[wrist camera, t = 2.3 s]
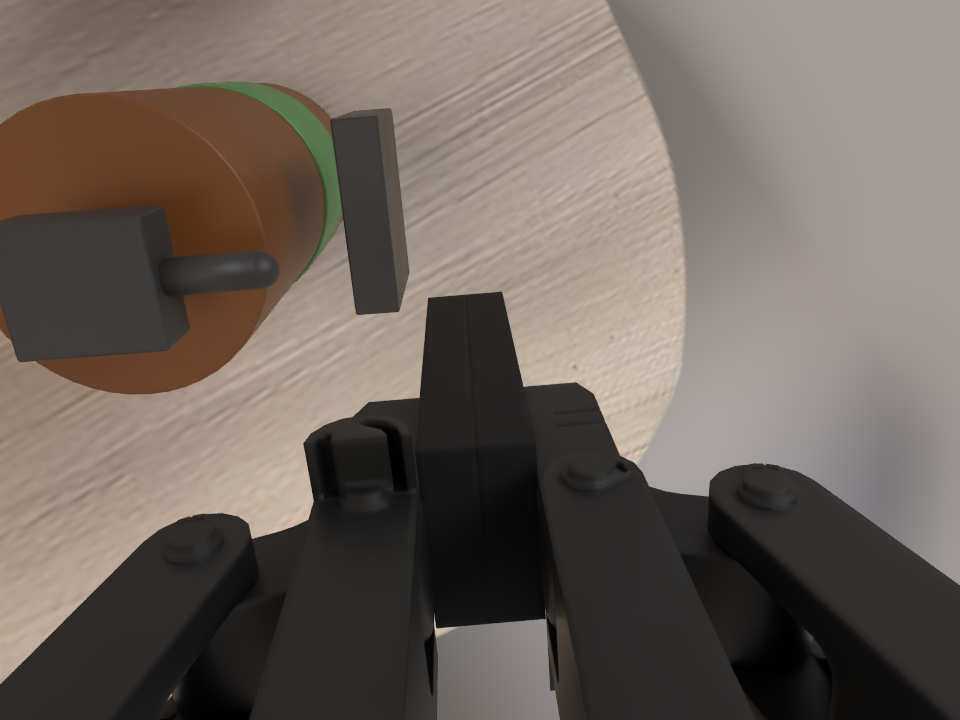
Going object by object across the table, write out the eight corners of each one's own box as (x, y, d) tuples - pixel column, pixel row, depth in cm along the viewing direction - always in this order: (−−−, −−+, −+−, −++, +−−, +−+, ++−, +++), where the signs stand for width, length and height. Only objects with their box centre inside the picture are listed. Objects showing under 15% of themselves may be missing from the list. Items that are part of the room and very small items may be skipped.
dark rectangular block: (372, 276, 29) (355, 315, 25) (352, 110, 27) (329, 119, 22) (409, 273, 29) (399, 312, 25) (391, 108, 27) (377, 116, 22)
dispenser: (198, 265, 40) (-86, 475, 19) (162, 88, 37) (-223, 110, 16) (384, 251, 40) (300, 446, 19) (363, 72, 37) (236, 74, 16)
